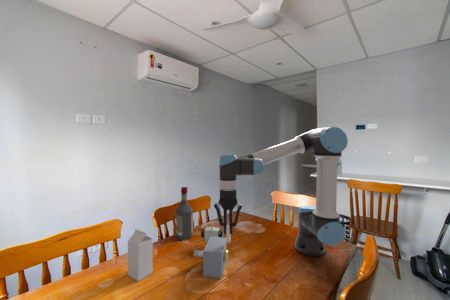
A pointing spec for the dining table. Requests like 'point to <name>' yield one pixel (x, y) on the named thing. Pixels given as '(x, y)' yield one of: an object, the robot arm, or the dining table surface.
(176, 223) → the liquor
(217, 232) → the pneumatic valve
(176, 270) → the dining table surface
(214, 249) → the block
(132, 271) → the milk carton
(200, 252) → the pin
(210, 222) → the dining table surface
